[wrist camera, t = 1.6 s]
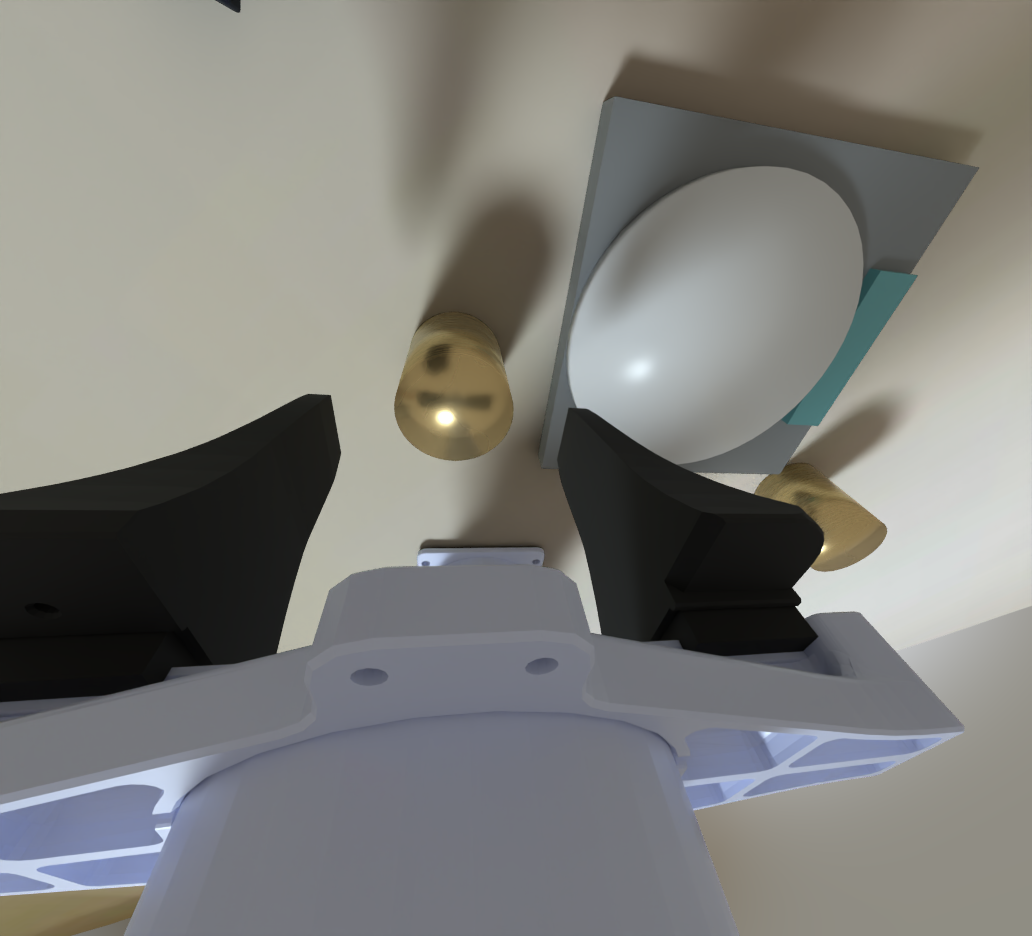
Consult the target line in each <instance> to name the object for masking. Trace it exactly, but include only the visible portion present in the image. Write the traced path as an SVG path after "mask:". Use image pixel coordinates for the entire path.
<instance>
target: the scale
mask: <svg viewBox="0 0 1032 936" xmlns="http://www.w3.org/2000/svg"><path fill="white" fill-rule="evenodd" d="M978 169H979V167H974V166H969V165H963V164H958V163H953V162H948V161H943V160H938V159H933V158H928V157H923V156H917V155H912V154H907V153H902V152H897V151H892V150H887V149H882V148H877V147H872V146H866V145H861V144H856V143H851V142H846V141H841V140H836V139H831V138H826V137H820V136H815V135H810V134H805V133H800V132H795V131H790V130H785V129H780V128H774V127H769V126H764V125H759V124H754V123H749V122H744V121H739V120H734V119H728V118H723V117H718V116H713V115H708V114H703V113H698V112H693V111H688V110H683V109H677V108H672V107H667V106H662V105H657V104H652V103H647V102H642V101H637V100H631V99H626V98H621V97H616V96H614V97H612V98H611V99H609V100H607V101H605V102H603V105H602V110H601V116H600V121H599V126H598V132H597V137H596V143H595V148H594V154H593V159H592V165H591V170H590V175H589V181H588V186H587V192H586V197H585V203H584V208H583V213H582V219H581V224H580V230H579V235H578V241H577V246H576V251H575V257H574V262H573V268H572V273H571V279H570V284H569V289H568V295H567V300H566V306H565V311H564V317H563V322H562V327H561V333H560V338H559V344H558V349H557V355H556V360H555V365H554V371H553V376H552V382H551V387H550V393H549V398H548V404H547V409H546V414H545V420H544V425H543V431H542V436H541V442H540V447H539V452H538V457H539V460H540V464H541V467H542V468H543V469H559V468H558V462H557V457H558V453H559V448H560V444H561V439H562V435H563V430H564V426H565V421H566V417H567V412H568V408H586V409H589V410H591V411H592V412H594V413H595V414H597V415H598V416H600V417H601V418H603V419H604V420H606V421H607V422H608V423H610V424H611V425H613V426H614V427H616V428H617V429H618V430H620V431H621V432H623V433H624V434H626V435H627V436H628V437H630V438H631V439H633V440H634V441H636V442H637V443H639V444H641V445H642V446H644V447H646V448H647V449H649V450H650V451H652V452H654V453H655V454H657V455H659V456H661V457H663V458H665V459H666V460H668V461H670V462H672V463H674V464H676V465H678V466H680V467H682V468H684V469H687V470H689V471H691V472H701V473H741V474H780V473H781V472H782V470H783V469H784V467H785V465H786V464H787V462H788V461H789V459H790V458H791V456H792V455H793V453H794V452H795V450H796V449H797V447H798V445H799V444H800V442H801V441H802V439H803V438H804V436H805V435H806V433H807V432H808V430H809V429H810V427H811V426H818V425H819V424H820V422H821V421H822V419H823V418H824V416H825V415H826V413H827V412H828V410H829V409H830V407H831V406H832V404H833V403H834V401H835V400H836V398H837V397H838V395H839V394H840V392H841V391H842V389H843V388H844V386H845V385H846V383H847V382H848V380H849V379H850V377H851V376H852V374H853V373H854V371H855V370H856V368H857V367H858V365H859V364H860V362H861V360H862V359H863V357H864V356H865V354H866V353H867V351H868V350H869V348H870V347H871V345H872V344H873V342H874V341H875V339H876V338H877V336H878V335H879V333H880V332H881V330H882V329H883V327H884V326H885V324H886V323H887V321H888V320H889V318H890V317H891V315H892V314H893V312H894V311H895V309H896V308H897V306H898V305H899V303H900V302H901V300H902V299H903V297H904V296H905V294H906V293H907V291H908V290H909V288H910V287H911V285H912V284H913V282H914V281H915V279H916V278H917V276H918V275H913V274H910V273H911V272H912V270H913V269H914V267H915V266H916V264H917V263H918V261H919V260H920V258H921V256H922V255H923V253H924V252H925V250H926V249H927V247H928V246H929V244H930V243H931V241H932V240H933V238H934V237H935V235H936V233H937V232H938V230H939V229H940V227H941V226H942V224H943V223H944V221H945V220H946V218H947V217H948V215H949V213H950V212H951V210H952V209H953V207H954V206H955V204H956V203H957V201H958V200H959V198H960V197H961V195H962V194H963V192H964V190H965V189H966V187H967V186H968V184H969V183H970V181H971V180H972V178H973V177H974V175H975V174H976V172H977V170H978Z"/></svg>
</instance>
